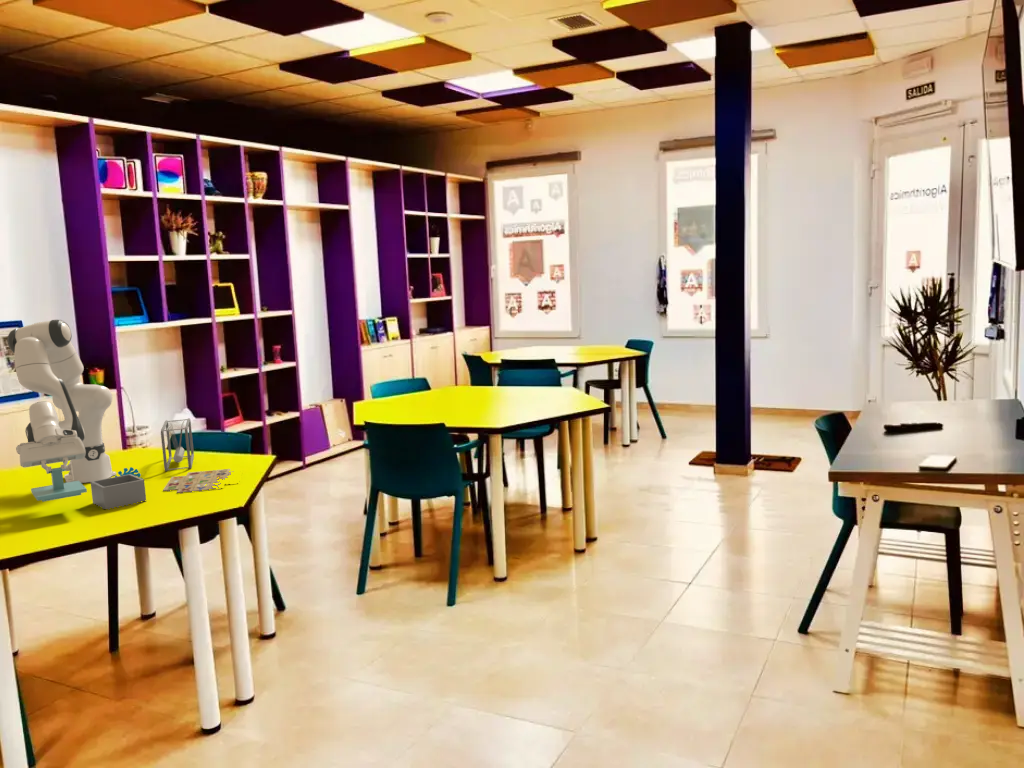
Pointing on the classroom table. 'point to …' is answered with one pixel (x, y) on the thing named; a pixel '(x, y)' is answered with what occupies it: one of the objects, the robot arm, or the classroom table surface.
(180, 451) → the newton's cradle
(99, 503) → the grey open box
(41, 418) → the robot arm
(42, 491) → the lid
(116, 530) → the classroom table surface
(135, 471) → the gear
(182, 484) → the alphabet tiles
